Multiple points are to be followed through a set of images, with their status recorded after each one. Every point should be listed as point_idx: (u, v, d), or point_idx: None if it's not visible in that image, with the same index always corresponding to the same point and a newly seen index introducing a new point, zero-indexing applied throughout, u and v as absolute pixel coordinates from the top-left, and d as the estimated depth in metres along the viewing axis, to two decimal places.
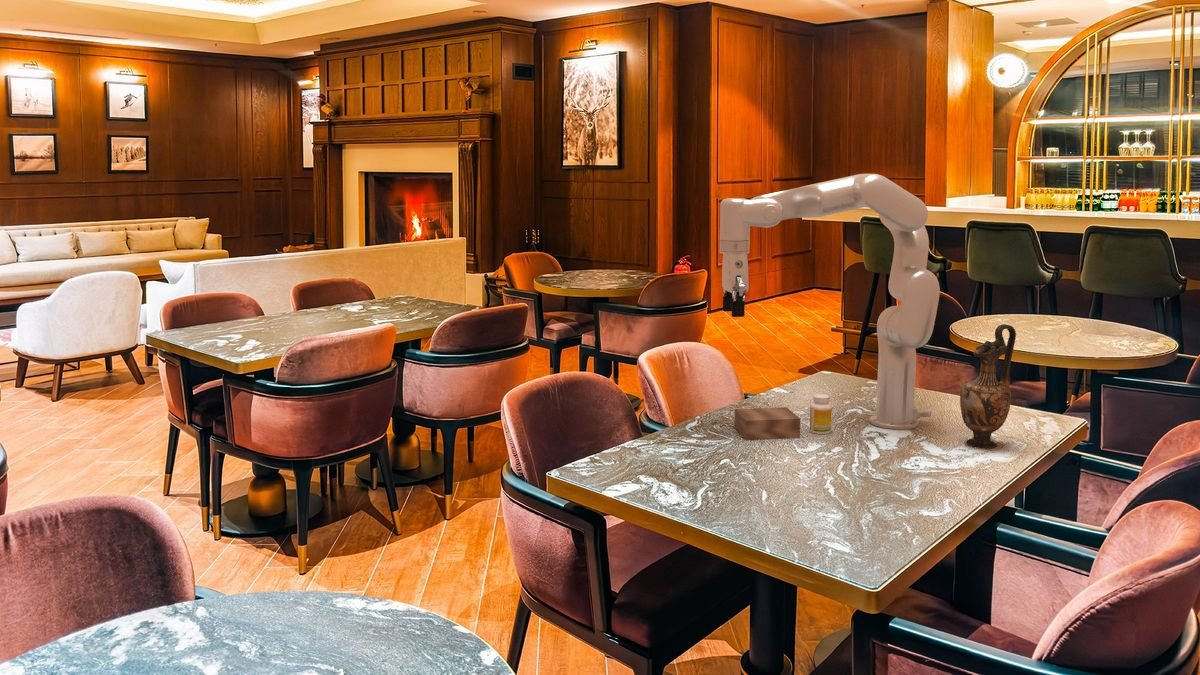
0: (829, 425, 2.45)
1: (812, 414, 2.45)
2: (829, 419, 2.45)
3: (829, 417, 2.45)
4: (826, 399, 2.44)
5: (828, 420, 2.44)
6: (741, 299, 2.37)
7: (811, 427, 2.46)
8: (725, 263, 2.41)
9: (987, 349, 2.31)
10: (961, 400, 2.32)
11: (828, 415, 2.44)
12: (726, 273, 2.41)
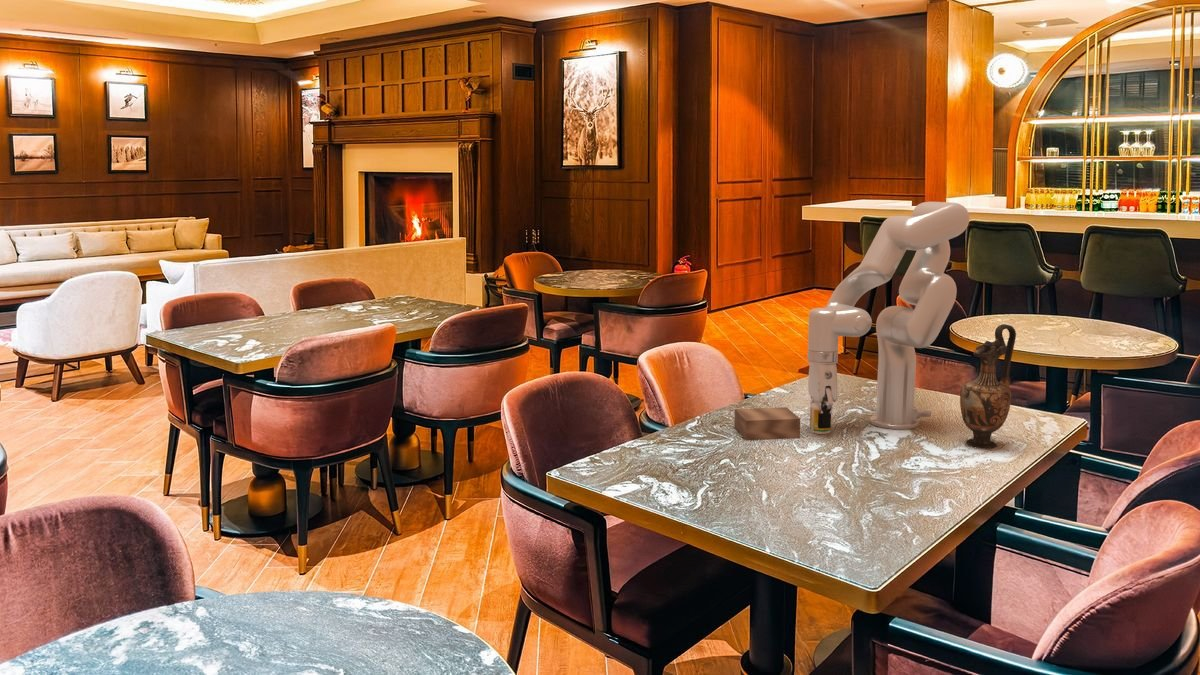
0: None
1: (812, 414, 2.45)
2: None
3: None
4: None
5: None
6: (828, 412, 2.42)
7: (811, 427, 2.46)
8: (813, 372, 2.43)
9: (987, 349, 2.31)
10: (961, 400, 2.32)
11: None
12: (815, 382, 2.43)
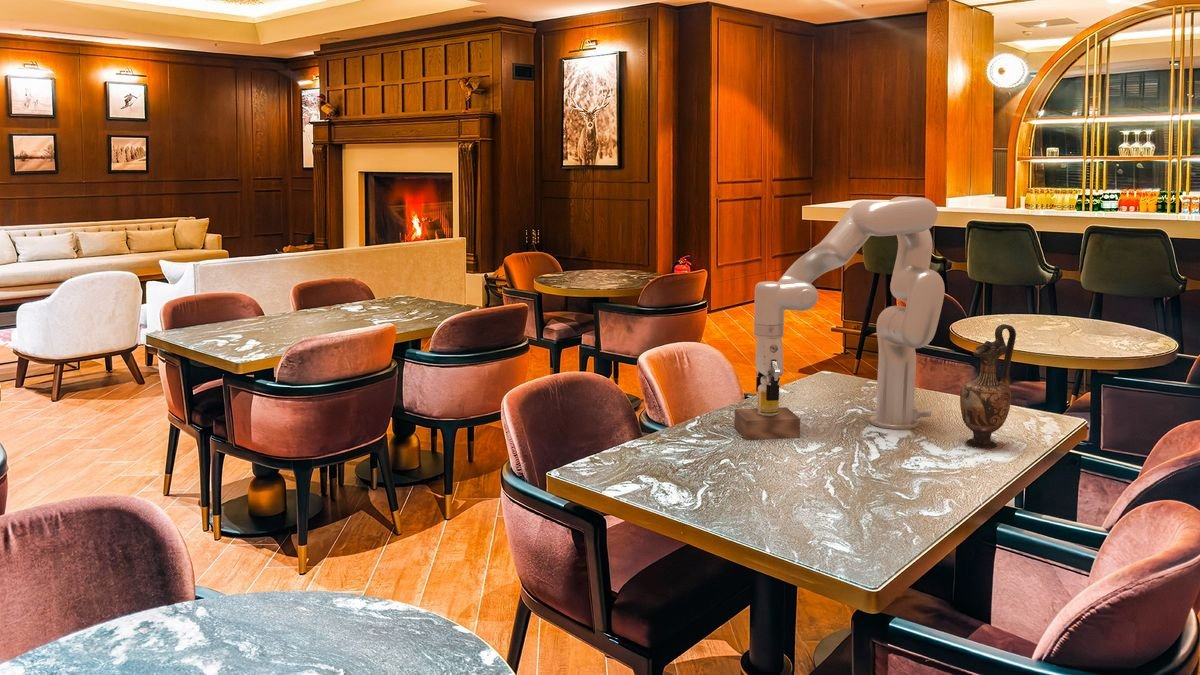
0: (776, 407, 2.44)
1: (759, 396, 2.44)
2: (776, 401, 2.43)
3: None
4: None
5: (775, 402, 2.43)
6: (776, 383, 2.38)
7: (758, 409, 2.45)
8: (759, 346, 2.42)
9: (987, 349, 2.31)
10: (961, 400, 2.32)
11: None
12: (761, 356, 2.41)
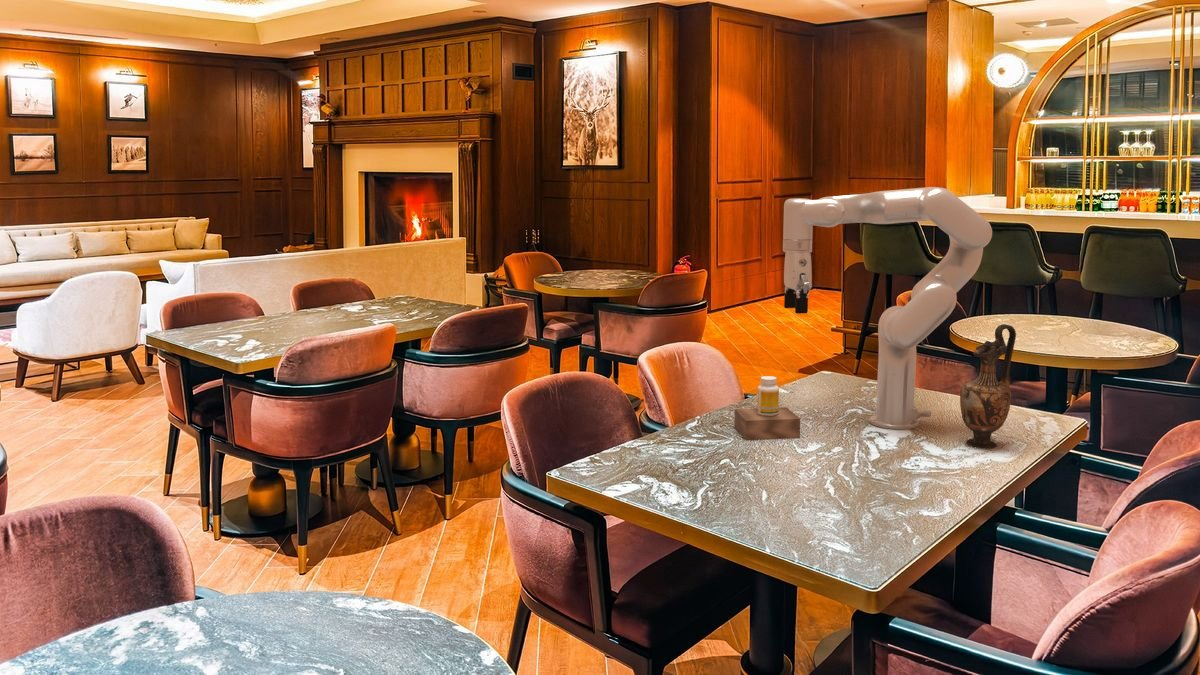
0: (776, 407, 2.44)
1: (759, 396, 2.44)
2: (776, 401, 2.43)
3: (776, 399, 2.43)
4: (773, 381, 2.42)
5: (775, 402, 2.43)
6: (805, 296, 2.45)
7: (758, 409, 2.45)
8: (788, 261, 2.49)
9: (987, 349, 2.31)
10: (961, 400, 2.32)
11: (775, 397, 2.43)
12: (789, 271, 2.48)
